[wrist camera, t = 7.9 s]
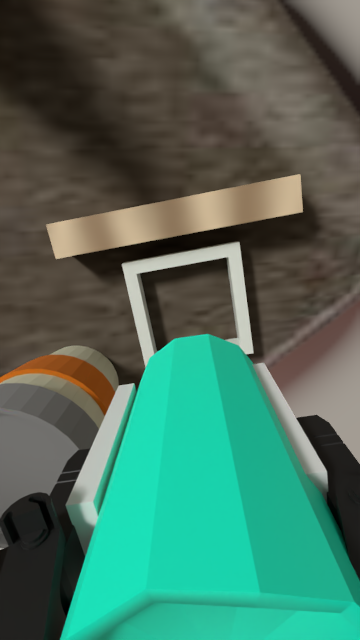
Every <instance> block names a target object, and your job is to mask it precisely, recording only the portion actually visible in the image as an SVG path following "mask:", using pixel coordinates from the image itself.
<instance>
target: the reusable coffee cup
mask: <svg viewBox="0 0 360 640" xmlns="http://www.w3.org/2000/svg"><path fill="white" fill-rule="evenodd" d="M118 386H119V382H118V376H117V372H116V370H115V368H114V366H113V365H112V363H111V362H110V361H109V360H108V359H107V358H106V357H105V356H104V355H103V354H101V353H100V352H98V351H96V350H94V349H91V348H89V347H84V346H69V347H64V348H62V349H60V350H57V351H56V352H54V353H52V354H50V355H47V356H42V357H39V358H36V359H34V360H31V361H29V362H28V363H26V364H24V365H22V366H20V367H18V368H16V369H15V370H13V371H11V372H9V373H7V374H5V375H4V376H2V377H0V518H1V516H2V514H3V513H4V512H5V511H6V510H7V509H8V508H9V507H10V506H11V505H12V504H13V503H15V502H16V501H17V500H19V499H20V498H22V497H24V496H27V495H29V494H32V493H37V492H42V493H47V494H48V495H50V493H51V492H52V490H53V488H54V486H55V484H57V480H58V478H59V476H60V474H62V470H63V469H64V467H65V465H66V463H67V461H68V460H69V459H70V458H71V457H72V456H73V455H74V454H75V453H76V452H77V451H78V450H83V449H90V448H91V447H92V444H93V442H94V440H95V438H96V435H97V433H98V431H99V429H100V426H101V424H102V422H103V420H104V417H105V415H106V413H107V411H108V408H109V406H110V404H111V402H112V399H113V397H114V395H115V393H116V390H117V388H118ZM6 547H8V544H7V541H6V539H5V537H4V534H3V532H2V530H1V528H0V548H6Z"/></svg>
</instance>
